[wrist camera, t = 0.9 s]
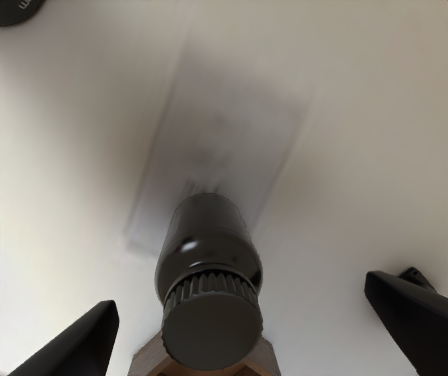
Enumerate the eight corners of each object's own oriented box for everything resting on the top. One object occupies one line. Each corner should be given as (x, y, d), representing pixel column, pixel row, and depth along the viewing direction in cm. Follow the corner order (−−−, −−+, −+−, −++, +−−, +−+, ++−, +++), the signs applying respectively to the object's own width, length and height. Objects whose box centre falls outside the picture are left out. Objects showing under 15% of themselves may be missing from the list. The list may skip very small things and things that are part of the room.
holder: (272, 344, 26) (283, 382, 22) (205, 399, 28) (206, 444, 24) (202, 292, 23) (202, 325, 19) (133, 356, 25) (119, 399, 21)
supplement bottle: (196, 265, 22) (186, 409, 11) (158, 213, 21) (99, 320, 9) (253, 233, 22) (307, 347, 11) (220, 177, 20) (240, 241, 9)
